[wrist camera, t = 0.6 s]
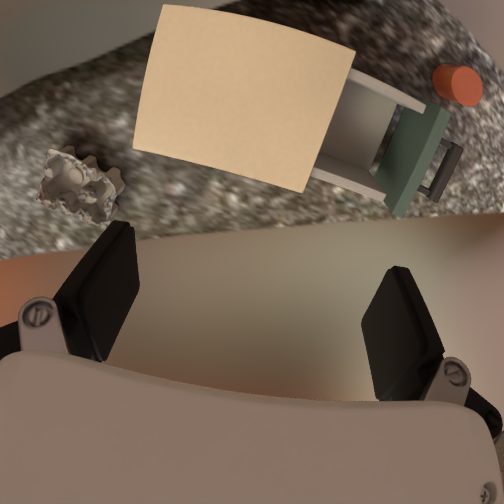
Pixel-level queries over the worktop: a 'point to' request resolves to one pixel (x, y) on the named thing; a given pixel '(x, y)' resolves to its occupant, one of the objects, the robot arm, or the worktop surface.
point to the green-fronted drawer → (399, 149)
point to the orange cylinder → (458, 84)
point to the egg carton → (80, 187)
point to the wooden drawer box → (239, 94)
